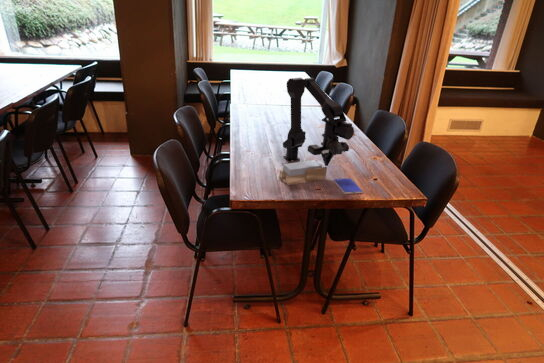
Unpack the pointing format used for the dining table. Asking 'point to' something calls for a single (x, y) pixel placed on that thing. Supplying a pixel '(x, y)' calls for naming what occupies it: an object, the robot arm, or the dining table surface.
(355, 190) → the hard drive
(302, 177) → the birch box
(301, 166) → the cover plate
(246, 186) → the dining table surface
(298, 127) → the robot arm
